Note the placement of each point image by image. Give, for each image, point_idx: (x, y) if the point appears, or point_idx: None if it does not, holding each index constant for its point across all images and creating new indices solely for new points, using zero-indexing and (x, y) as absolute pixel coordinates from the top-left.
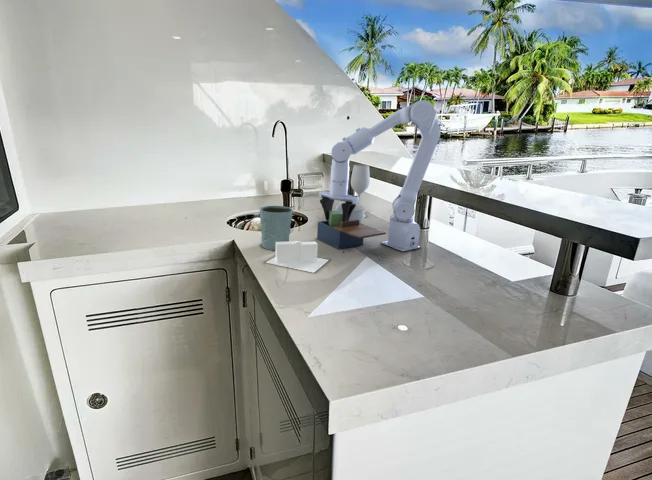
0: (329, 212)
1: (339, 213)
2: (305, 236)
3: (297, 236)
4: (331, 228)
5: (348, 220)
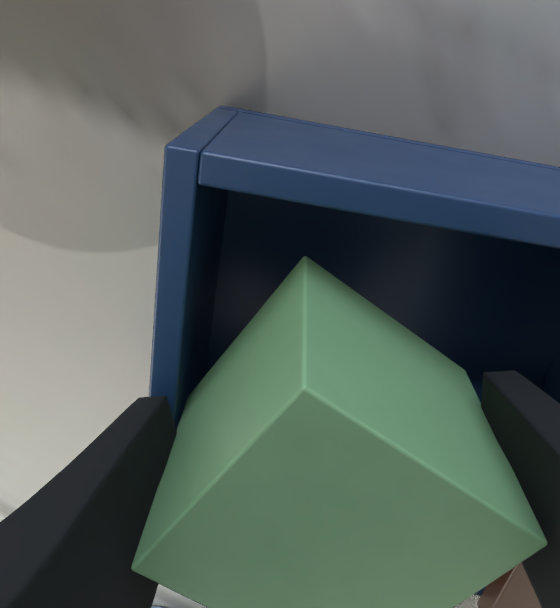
0: (177, 572)
1: (415, 576)
2: (74, 422)
3: (43, 466)
4: None
5: (547, 399)
